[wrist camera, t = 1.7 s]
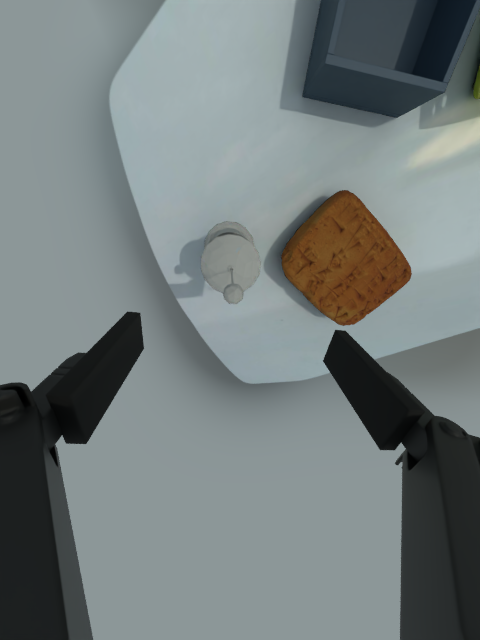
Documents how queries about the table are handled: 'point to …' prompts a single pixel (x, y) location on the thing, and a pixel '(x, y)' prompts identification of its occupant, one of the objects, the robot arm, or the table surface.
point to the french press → (230, 260)
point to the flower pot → (477, 86)
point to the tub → (386, 52)
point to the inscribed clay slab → (344, 260)
